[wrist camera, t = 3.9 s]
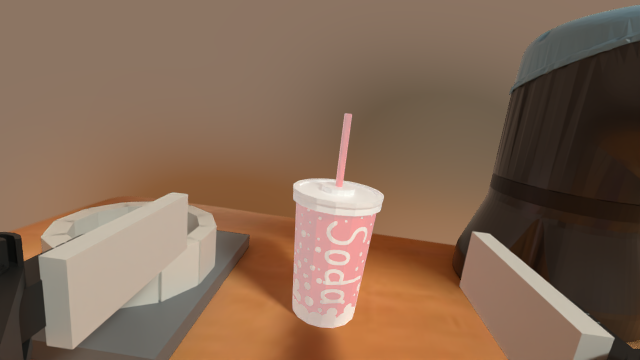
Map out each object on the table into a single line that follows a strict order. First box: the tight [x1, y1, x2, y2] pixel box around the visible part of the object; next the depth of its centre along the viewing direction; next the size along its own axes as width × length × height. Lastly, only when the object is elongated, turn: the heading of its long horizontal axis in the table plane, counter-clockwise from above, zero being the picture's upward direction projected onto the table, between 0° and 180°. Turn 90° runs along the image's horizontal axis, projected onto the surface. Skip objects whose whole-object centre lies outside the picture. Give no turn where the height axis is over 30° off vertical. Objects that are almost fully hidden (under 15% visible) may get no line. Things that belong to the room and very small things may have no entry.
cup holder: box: [31, 201, 250, 360], centre depth 23 cm, size 12×16×4 cm
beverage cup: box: [292, 113, 384, 328], centre depth 22 cm, size 6×6×14 cm
